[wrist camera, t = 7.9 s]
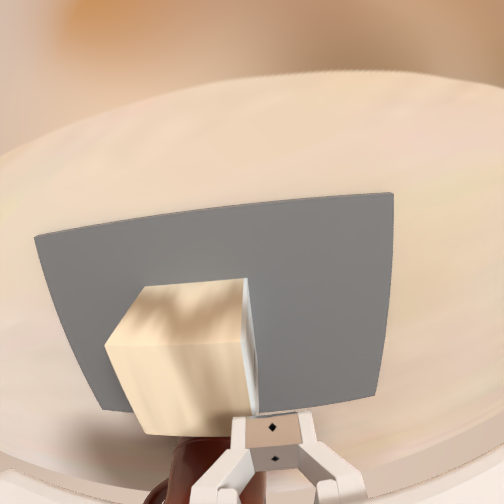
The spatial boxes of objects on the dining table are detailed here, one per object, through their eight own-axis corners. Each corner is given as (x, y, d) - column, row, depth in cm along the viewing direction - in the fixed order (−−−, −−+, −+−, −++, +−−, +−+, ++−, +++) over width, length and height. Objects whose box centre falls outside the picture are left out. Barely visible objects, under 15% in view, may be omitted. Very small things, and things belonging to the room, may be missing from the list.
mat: (389, 192, 16) (393, 193, 15) (373, 391, 21) (374, 395, 20) (38, 235, 17) (33, 237, 16) (104, 405, 21) (102, 409, 21)
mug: (235, 395, 20) (228, 521, 11) (290, 448, 23) (300, 547, 13) (126, 432, 22) (95, 522, 13) (186, 476, 25) (174, 557, 15)
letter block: (245, 341, 11) (104, 345, 11) (259, 435, 13) (145, 433, 13) (247, 277, 17) (144, 286, 17) (257, 362, 19) (167, 366, 19)
